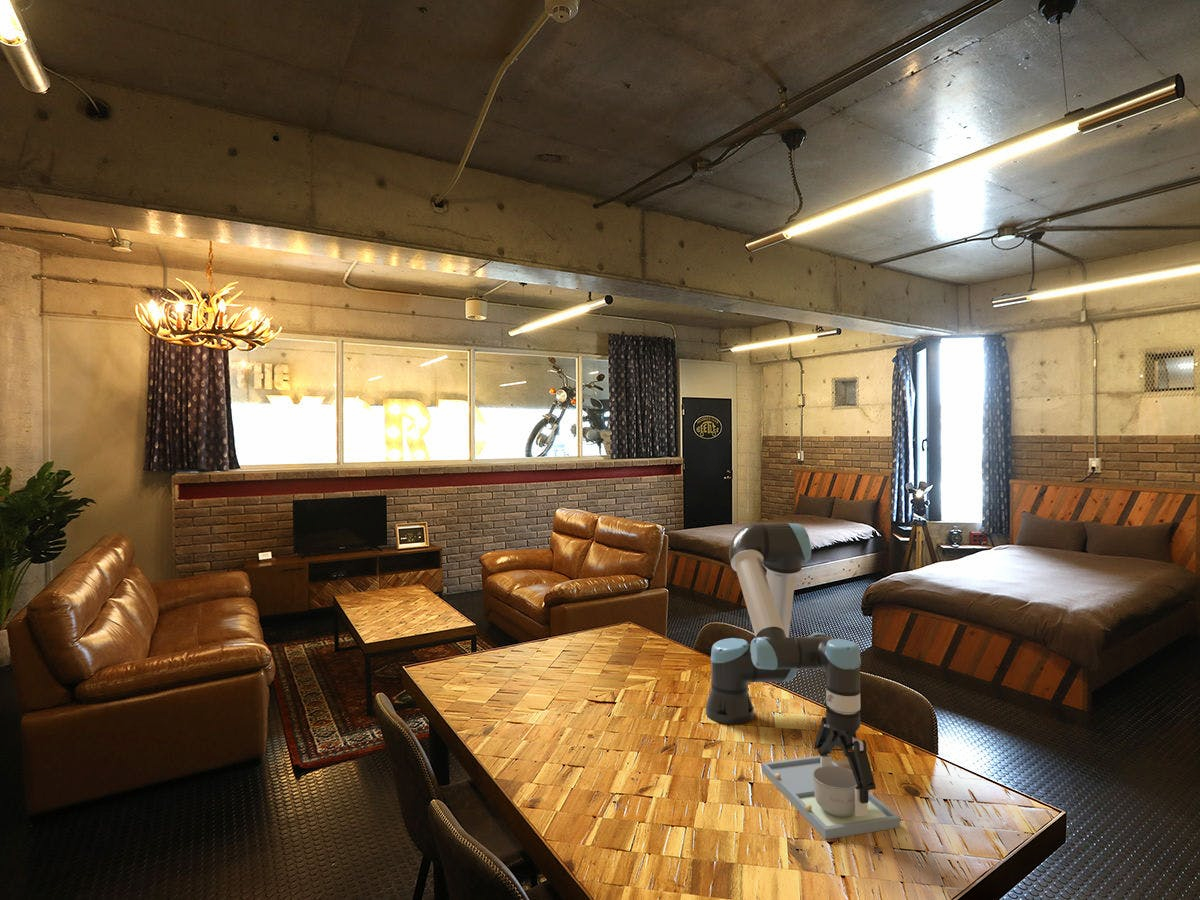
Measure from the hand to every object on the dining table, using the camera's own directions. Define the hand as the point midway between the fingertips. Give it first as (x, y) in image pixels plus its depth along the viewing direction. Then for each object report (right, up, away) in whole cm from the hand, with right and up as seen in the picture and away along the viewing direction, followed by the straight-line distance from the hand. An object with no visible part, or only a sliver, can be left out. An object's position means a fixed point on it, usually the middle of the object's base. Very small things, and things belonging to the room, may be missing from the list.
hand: (842, 798), depth 145 cm
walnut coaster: (+10, -4, +20) cm, 23 cm away
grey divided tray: (-2, -4, +7) cm, 8 cm away
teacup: (0, -3, 0) cm, 3 cm away
